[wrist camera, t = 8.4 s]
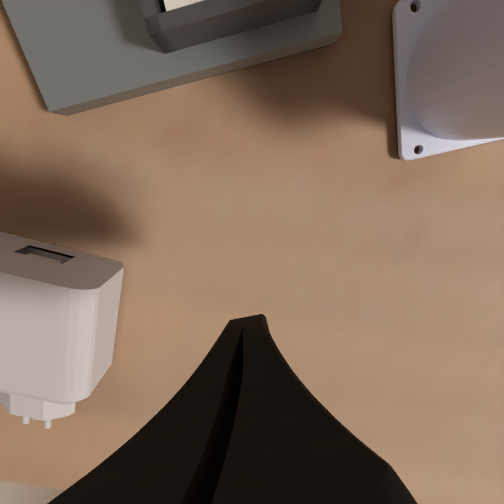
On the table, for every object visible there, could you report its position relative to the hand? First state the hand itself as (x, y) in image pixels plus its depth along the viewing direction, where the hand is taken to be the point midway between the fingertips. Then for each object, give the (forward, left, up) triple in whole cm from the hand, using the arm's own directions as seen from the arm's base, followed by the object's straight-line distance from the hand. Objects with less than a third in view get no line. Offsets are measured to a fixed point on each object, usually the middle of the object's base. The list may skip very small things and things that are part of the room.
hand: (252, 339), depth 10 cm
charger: (+17, +3, -10) cm, 20 cm away
